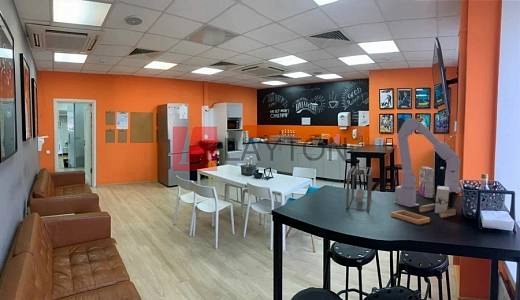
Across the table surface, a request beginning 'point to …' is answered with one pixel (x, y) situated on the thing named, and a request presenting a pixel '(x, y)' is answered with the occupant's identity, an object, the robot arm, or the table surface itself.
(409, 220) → the tan wooden flat tray
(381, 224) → the table surface
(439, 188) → the ink box
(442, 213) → the birch tunnel
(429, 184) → the candy bar box
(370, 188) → the newton's cradle
